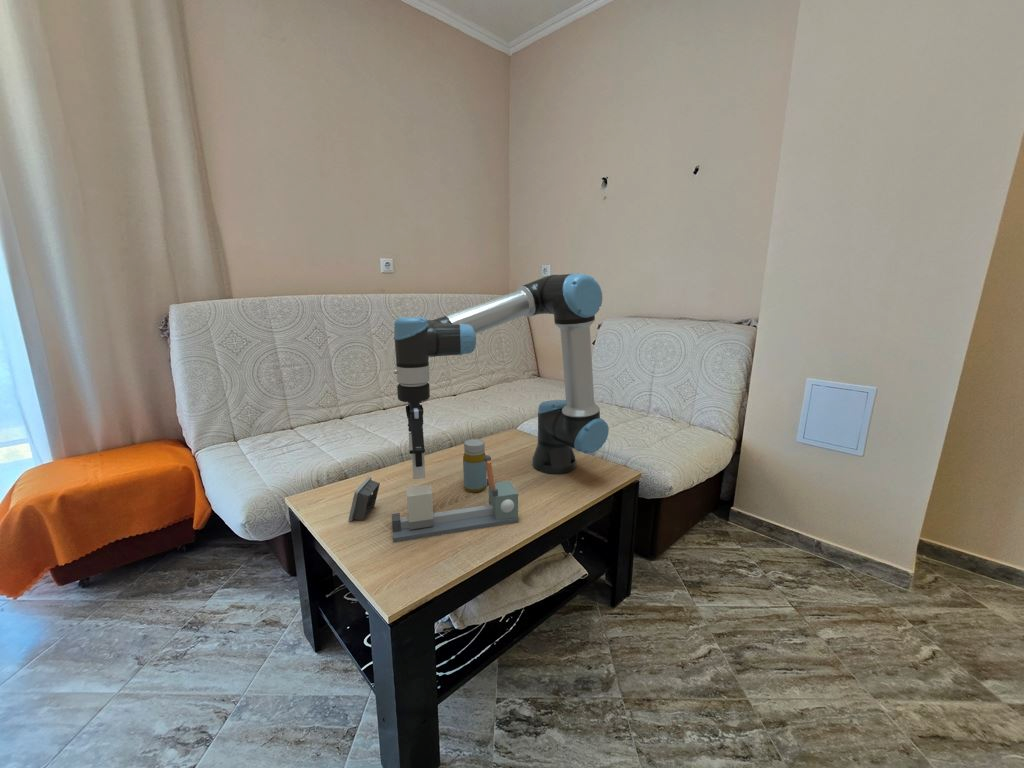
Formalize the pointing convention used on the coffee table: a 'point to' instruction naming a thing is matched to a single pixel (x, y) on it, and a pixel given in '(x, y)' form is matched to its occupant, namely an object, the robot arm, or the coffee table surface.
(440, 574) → the coffee table surface
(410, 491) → the carriage
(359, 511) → the electrical switch
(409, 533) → the rail bench
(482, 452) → the bottle
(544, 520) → the coffee table surface
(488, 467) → the lever
